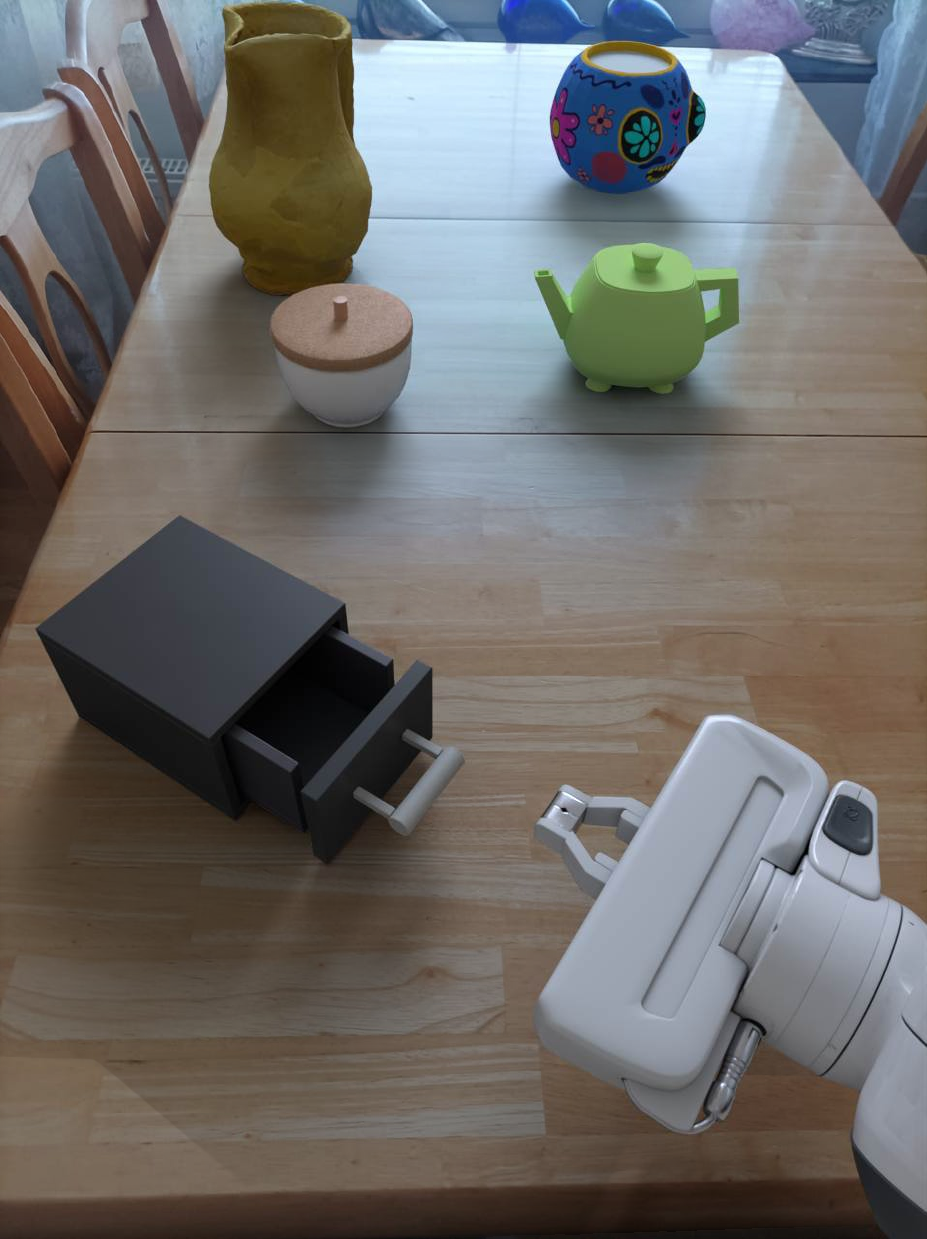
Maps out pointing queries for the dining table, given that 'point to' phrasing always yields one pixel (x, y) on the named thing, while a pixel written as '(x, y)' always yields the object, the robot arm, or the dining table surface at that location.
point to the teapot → (639, 315)
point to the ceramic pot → (624, 116)
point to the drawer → (339, 743)
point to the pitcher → (290, 147)
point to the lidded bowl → (343, 351)
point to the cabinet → (184, 650)
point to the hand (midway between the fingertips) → (547, 809)
